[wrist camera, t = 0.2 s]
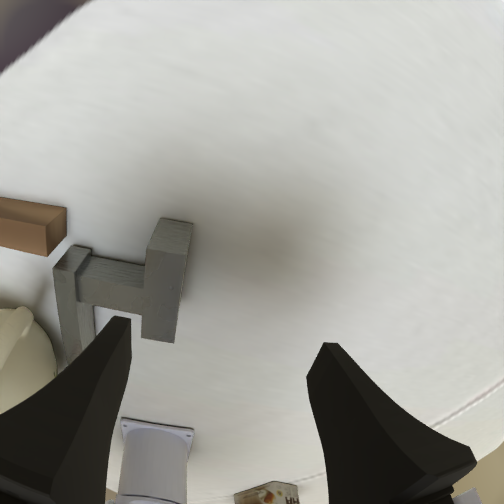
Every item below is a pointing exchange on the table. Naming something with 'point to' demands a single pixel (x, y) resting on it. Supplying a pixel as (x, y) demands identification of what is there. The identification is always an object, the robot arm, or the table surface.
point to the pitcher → (23, 357)
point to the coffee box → (269, 494)
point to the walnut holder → (31, 226)
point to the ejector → (123, 287)
